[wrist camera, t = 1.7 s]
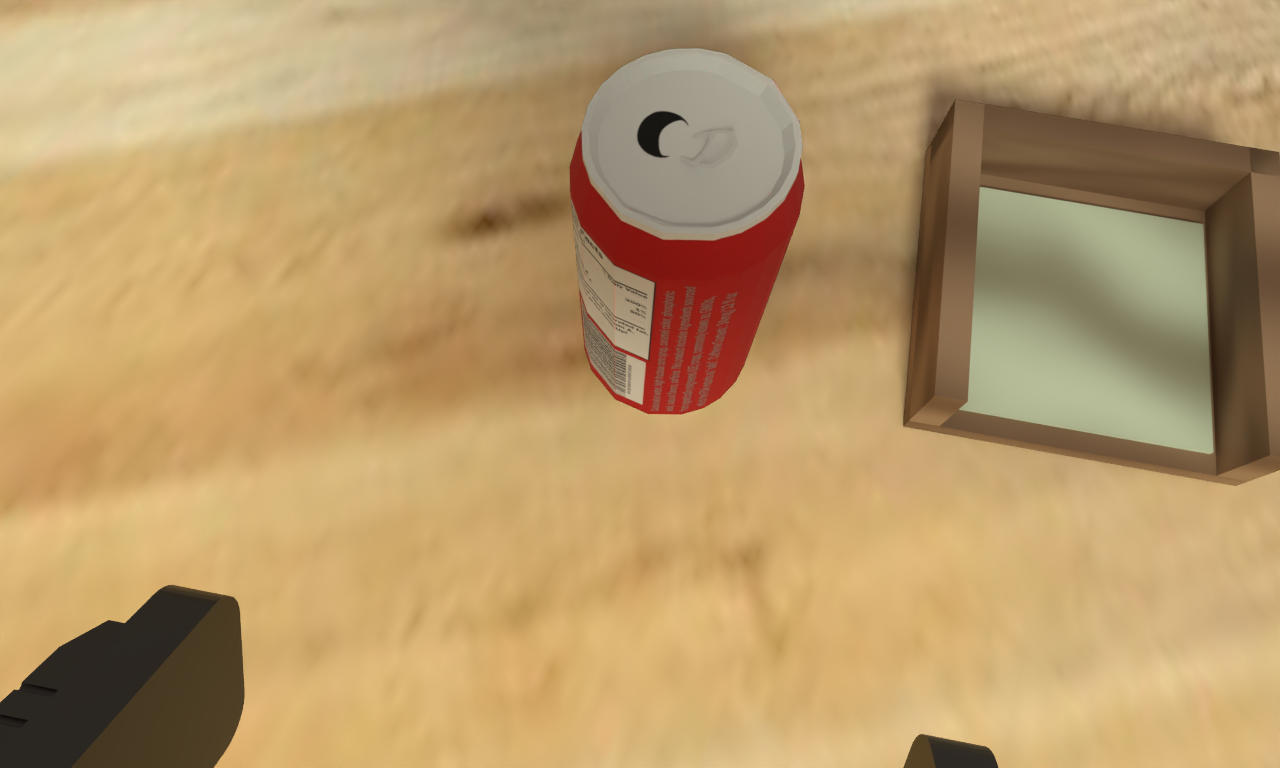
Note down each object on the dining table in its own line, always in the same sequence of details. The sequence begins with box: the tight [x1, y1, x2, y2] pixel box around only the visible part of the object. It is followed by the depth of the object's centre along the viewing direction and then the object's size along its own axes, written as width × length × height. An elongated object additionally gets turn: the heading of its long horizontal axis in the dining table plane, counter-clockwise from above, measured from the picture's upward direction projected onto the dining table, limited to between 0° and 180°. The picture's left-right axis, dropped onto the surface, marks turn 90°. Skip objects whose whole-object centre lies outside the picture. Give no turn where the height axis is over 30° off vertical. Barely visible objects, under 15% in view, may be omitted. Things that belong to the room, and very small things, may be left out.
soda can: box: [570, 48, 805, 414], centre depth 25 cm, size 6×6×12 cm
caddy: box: [904, 99, 1280, 486], centre depth 30 cm, size 11×11×3 cm
